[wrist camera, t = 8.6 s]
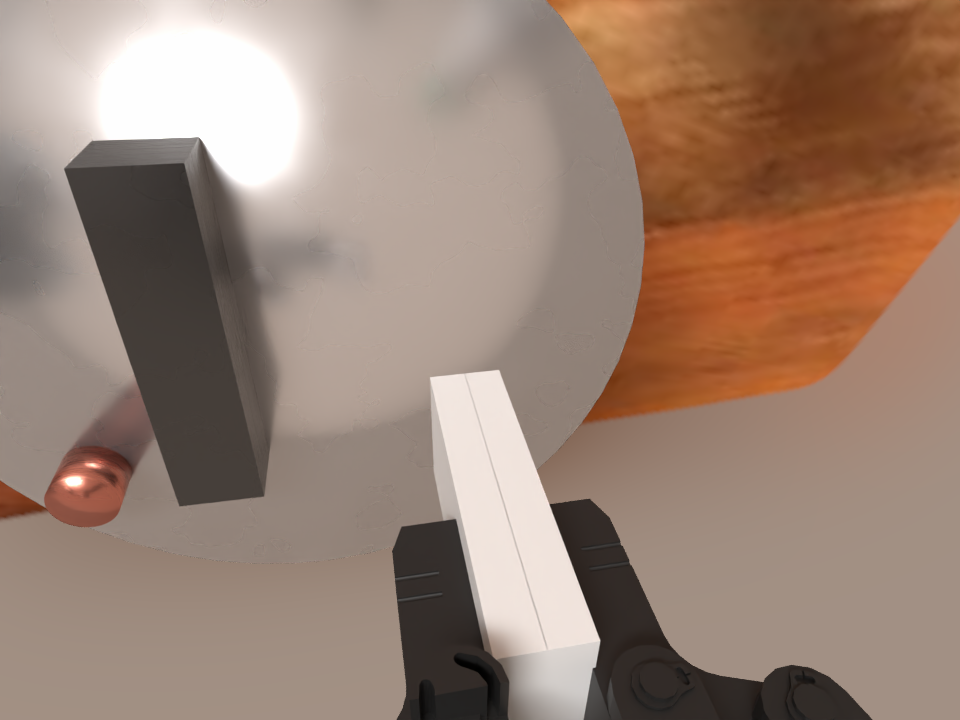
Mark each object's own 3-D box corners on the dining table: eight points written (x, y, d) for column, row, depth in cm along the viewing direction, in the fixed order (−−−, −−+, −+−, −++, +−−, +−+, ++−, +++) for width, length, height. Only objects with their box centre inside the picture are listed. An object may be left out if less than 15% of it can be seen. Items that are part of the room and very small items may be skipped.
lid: (685, -140, 16) (753, -147, 13) (593, 502, 28) (620, 564, 25) (-409, -160, 13) (-601, -174, 10) (16, 574, 24) (-22, 655, 22)
